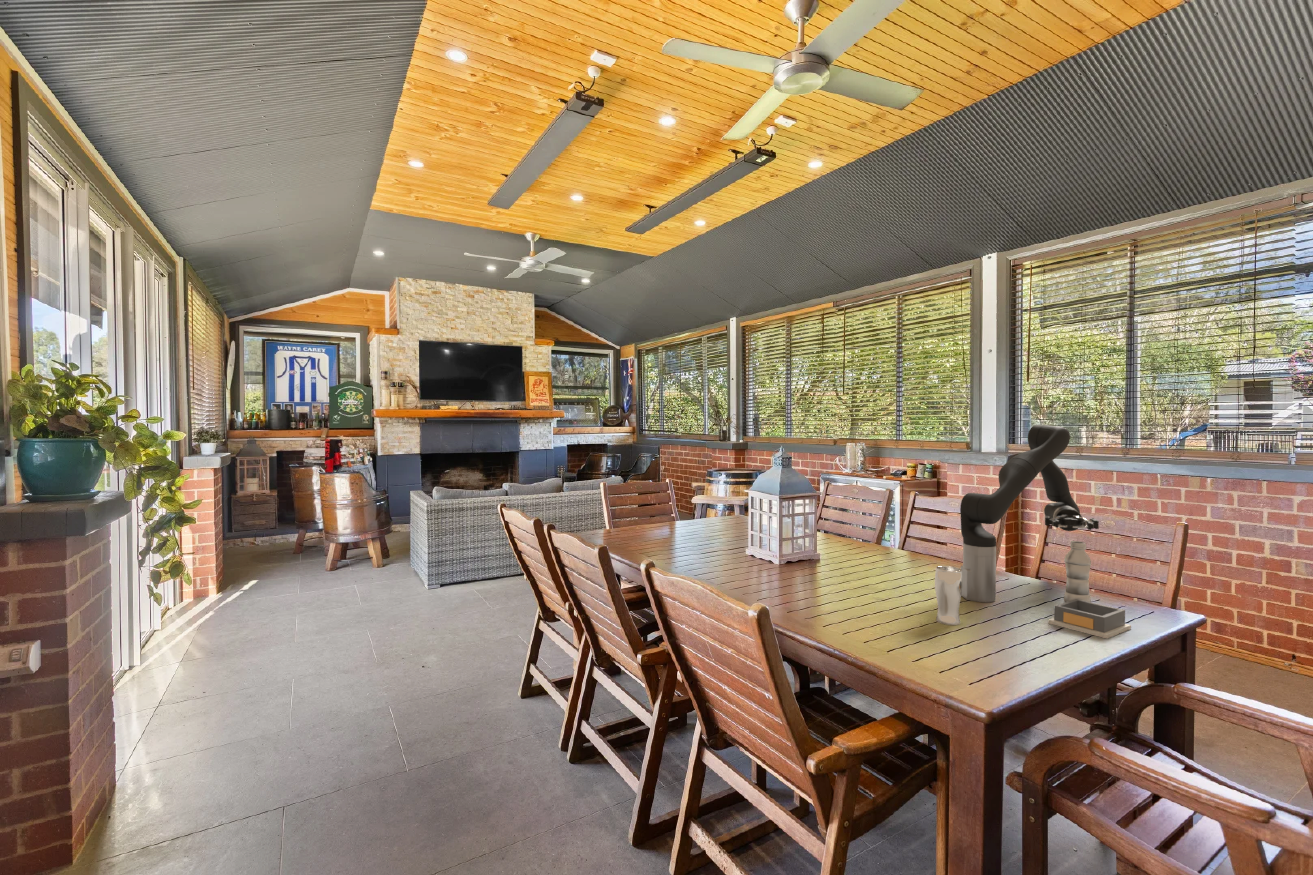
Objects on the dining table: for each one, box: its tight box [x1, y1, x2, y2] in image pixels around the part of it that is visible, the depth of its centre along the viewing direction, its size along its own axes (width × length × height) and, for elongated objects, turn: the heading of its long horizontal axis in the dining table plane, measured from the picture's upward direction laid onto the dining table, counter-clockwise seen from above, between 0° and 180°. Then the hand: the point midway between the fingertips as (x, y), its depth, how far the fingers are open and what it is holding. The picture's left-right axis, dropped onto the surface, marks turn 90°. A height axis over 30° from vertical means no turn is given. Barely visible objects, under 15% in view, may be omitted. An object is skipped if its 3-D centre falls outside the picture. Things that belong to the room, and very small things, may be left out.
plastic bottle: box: [1063, 540, 1092, 603], centre depth 179 cm, size 6×7×20 cm
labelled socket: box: [1048, 599, 1132, 639], centre depth 164 cm, size 14×14×5 cm
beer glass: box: [934, 565, 963, 626], centre depth 167 cm, size 7×7×15 cm
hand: (1073, 525), depth 188 cm, fingers open, 8 cm apart
